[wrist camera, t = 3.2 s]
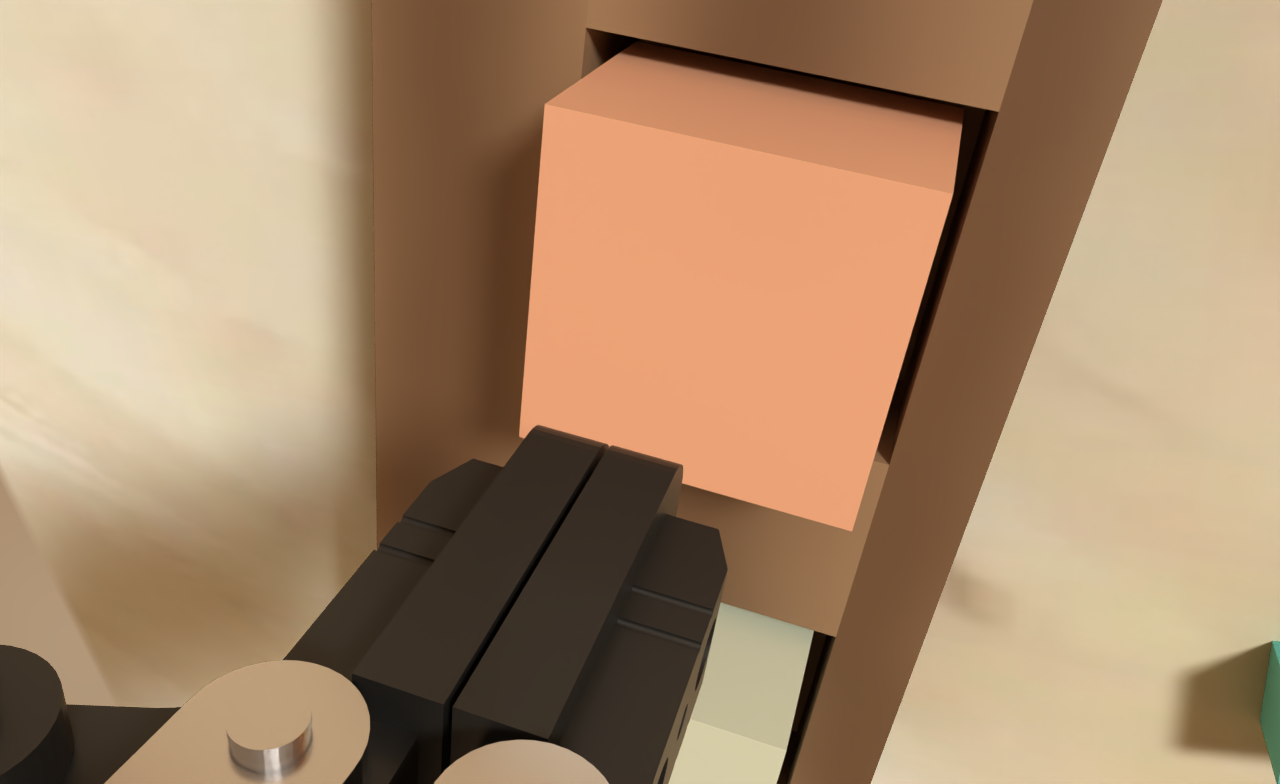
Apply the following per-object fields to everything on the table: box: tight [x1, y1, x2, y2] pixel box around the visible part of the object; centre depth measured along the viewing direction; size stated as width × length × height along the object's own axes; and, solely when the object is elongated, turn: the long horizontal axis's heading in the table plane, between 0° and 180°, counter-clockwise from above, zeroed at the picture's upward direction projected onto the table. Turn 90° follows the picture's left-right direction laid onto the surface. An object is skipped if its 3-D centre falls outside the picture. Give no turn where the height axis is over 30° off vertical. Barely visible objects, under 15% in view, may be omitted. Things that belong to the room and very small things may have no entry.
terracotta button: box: [519, 41, 964, 531], centre depth 16 cm, size 5×5×4 cm
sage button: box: [668, 602, 814, 784], centre depth 21 cm, size 5×5×4 cm
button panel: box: [372, 0, 1162, 784], centre depth 18 cm, size 11×30×4 cm, turn 172°
